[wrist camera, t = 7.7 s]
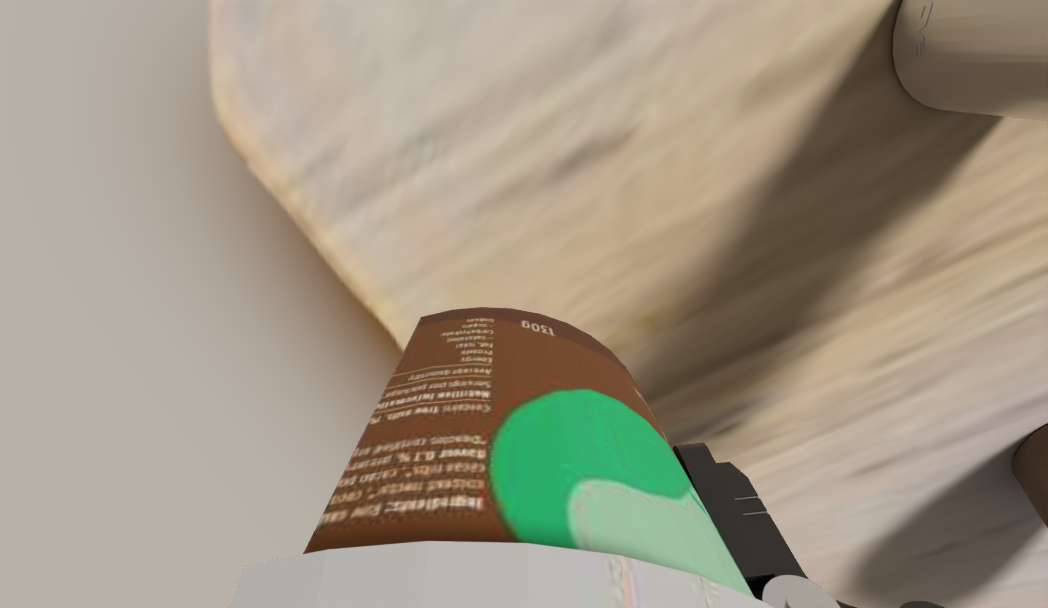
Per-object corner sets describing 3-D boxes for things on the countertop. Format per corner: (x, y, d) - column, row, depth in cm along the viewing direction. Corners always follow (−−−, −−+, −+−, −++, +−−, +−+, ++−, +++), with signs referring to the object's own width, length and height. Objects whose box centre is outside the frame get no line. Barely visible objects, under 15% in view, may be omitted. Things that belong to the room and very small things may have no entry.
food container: (712, 532, 17) (956, 1075, 8) (540, 573, 17) (581, 1122, 8) (642, 188, 11) (1163, 657, 2) (397, 266, 12) (86, 871, 3)
